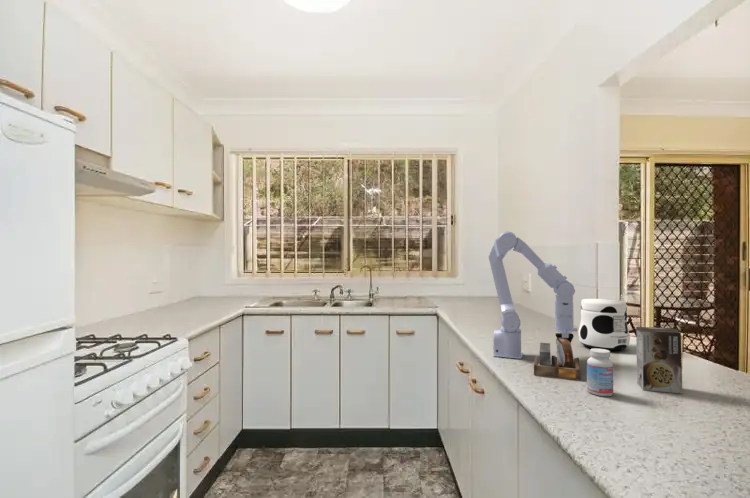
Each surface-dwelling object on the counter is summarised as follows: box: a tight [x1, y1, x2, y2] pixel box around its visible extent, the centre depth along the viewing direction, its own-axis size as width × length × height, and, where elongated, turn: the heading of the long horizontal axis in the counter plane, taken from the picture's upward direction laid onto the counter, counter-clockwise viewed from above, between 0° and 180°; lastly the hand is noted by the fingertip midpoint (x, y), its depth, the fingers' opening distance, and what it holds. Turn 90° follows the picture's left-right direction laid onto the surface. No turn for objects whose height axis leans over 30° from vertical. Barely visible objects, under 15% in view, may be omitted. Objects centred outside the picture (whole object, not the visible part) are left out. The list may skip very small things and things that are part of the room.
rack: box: [533, 342, 581, 381], centre depth 129 cm, size 13×16×7 cm
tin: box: [555, 337, 574, 368], centre depth 134 cm, size 15×3×8 cm, turn 165°
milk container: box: [577, 298, 631, 351], centre depth 158 cm, size 17×17×18 cm
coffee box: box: [635, 326, 683, 394], centre depth 112 cm, size 9×6×16 cm
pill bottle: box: [586, 348, 614, 397], centre depth 109 cm, size 6×6×11 cm
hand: (564, 354), depth 142 cm, fingers closed
